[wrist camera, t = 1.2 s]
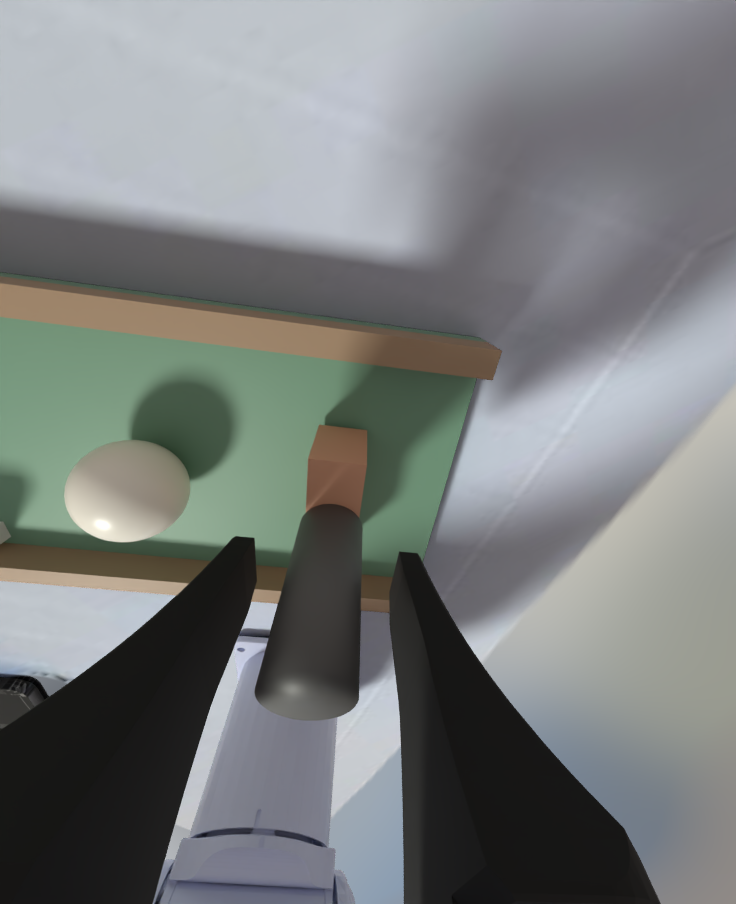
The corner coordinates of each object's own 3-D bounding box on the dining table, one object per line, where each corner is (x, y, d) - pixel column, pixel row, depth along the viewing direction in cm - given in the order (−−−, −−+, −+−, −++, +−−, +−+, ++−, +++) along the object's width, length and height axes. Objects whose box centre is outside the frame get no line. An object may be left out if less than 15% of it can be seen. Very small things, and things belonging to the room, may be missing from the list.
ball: (211, 503, 16) (166, 569, 12) (125, 495, 15) (55, 560, 12) (201, 429, 14) (144, 482, 10) (103, 418, 14) (11, 469, 10)
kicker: (356, 537, 16) (346, 753, 9) (308, 532, 16) (259, 748, 9) (372, 430, 13) (376, 620, 6) (314, 424, 13) (247, 609, 6)
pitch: (411, 576, 20) (417, 615, 17) (-85, 532, 18) (-148, 568, 16) (479, 337, 13) (501, 350, 11) (-305, 230, 11) (-467, 220, 9)
